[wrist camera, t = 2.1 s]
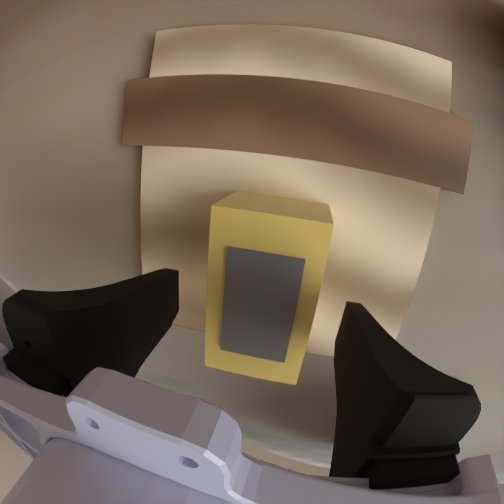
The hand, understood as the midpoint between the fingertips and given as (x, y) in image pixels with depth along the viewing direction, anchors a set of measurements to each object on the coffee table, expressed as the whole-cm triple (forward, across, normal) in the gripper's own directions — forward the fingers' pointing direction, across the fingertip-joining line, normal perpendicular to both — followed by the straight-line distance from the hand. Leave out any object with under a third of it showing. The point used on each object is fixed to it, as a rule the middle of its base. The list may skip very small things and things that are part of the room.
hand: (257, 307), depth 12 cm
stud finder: (+4, 0, 0) cm, 4 cm away
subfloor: (+5, 0, -4) cm, 6 cm away
